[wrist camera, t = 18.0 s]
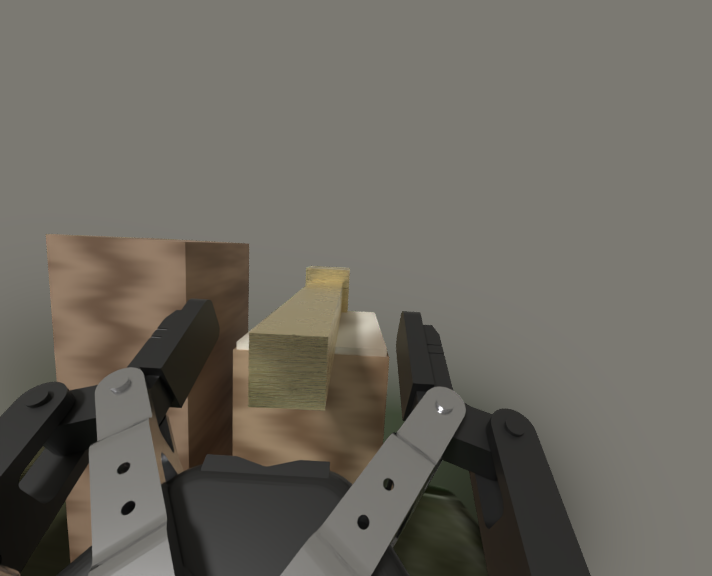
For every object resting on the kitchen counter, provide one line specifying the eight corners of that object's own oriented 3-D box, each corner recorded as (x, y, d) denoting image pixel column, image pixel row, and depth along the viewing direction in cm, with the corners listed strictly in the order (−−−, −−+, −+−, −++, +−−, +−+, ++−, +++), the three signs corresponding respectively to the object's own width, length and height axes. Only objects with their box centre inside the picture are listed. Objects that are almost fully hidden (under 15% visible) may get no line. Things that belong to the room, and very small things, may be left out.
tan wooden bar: (233, 406, 15) (233, 301, 14) (309, 304, 40) (310, 265, 40) (339, 411, 15) (345, 307, 14) (347, 306, 40) (349, 268, 40)
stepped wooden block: (71, 649, 27) (38, 233, 22) (166, 513, 41) (159, 238, 36) (367, 659, 28) (396, 253, 23) (362, 521, 41) (380, 251, 37)
